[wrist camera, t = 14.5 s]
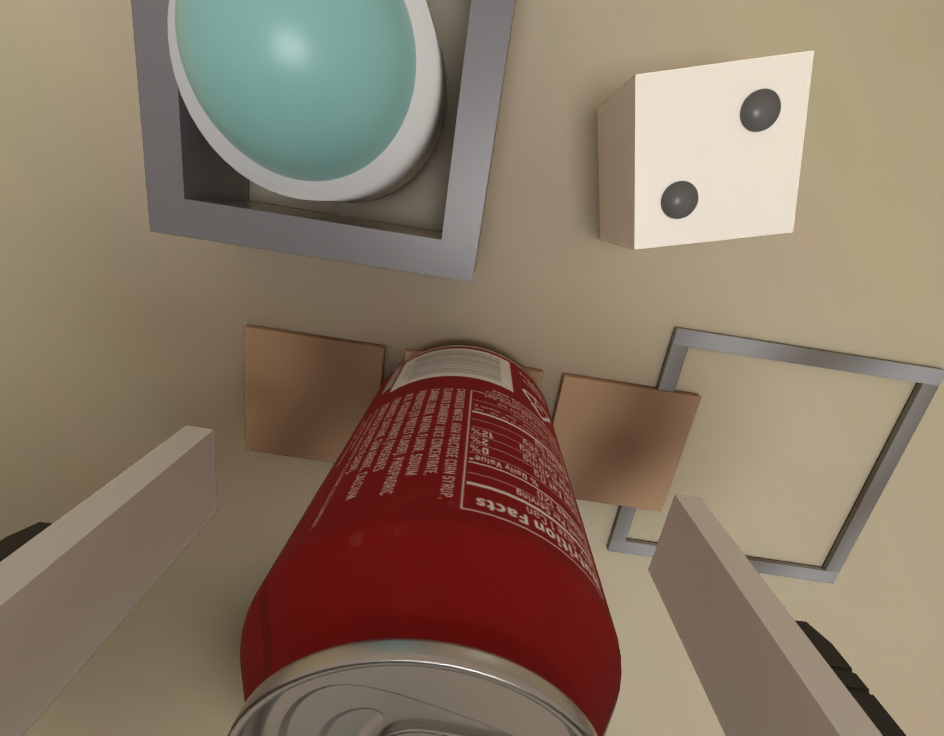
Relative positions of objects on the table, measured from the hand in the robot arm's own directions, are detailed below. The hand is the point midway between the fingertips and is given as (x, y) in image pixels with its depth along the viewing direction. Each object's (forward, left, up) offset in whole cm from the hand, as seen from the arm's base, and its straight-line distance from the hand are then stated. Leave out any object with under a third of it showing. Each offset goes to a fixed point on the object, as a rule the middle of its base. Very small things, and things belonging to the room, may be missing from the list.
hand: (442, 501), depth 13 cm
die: (+5, +10, -5) cm, 13 cm away
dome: (-5, +11, -4) cm, 12 cm away
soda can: (0, 0, -5) cm, 5 cm away
